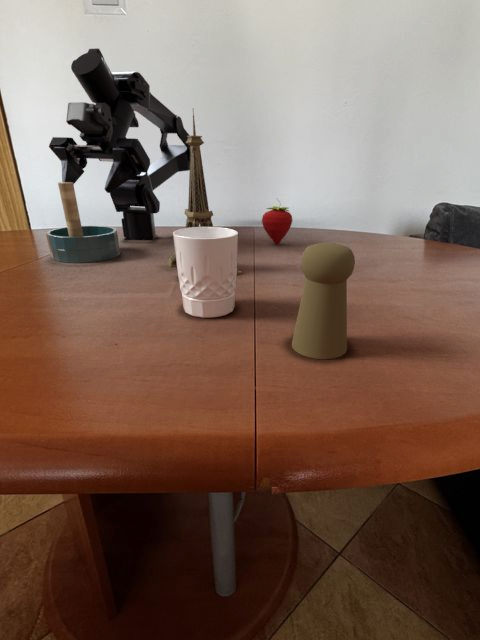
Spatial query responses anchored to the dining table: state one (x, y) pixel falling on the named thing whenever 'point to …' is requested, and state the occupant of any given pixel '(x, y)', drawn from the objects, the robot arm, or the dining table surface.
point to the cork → (324, 301)
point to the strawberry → (277, 223)
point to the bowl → (84, 244)
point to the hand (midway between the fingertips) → (85, 190)
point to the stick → (70, 209)
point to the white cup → (207, 269)
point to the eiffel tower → (196, 192)
